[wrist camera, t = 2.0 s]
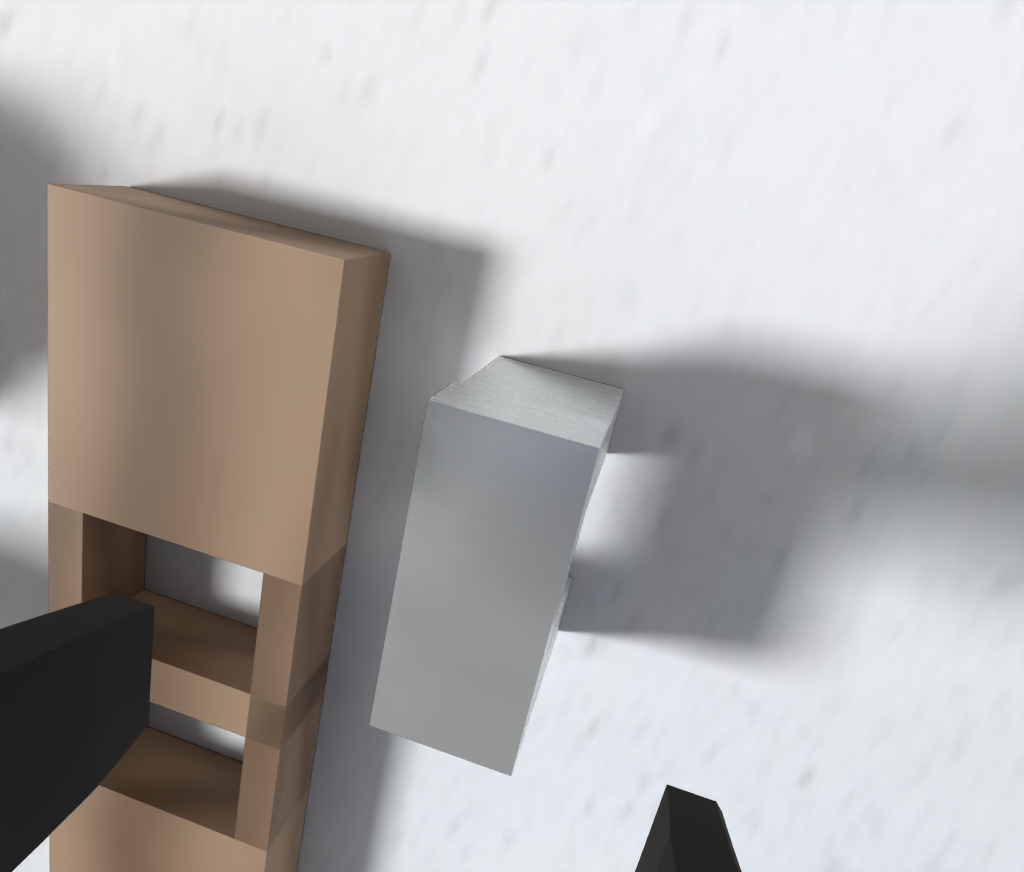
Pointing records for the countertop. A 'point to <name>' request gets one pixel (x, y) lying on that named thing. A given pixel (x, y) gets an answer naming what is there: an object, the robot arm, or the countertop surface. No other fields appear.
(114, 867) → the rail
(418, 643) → the brushed aluminum block
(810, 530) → the countertop surface
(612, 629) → the countertop surface
